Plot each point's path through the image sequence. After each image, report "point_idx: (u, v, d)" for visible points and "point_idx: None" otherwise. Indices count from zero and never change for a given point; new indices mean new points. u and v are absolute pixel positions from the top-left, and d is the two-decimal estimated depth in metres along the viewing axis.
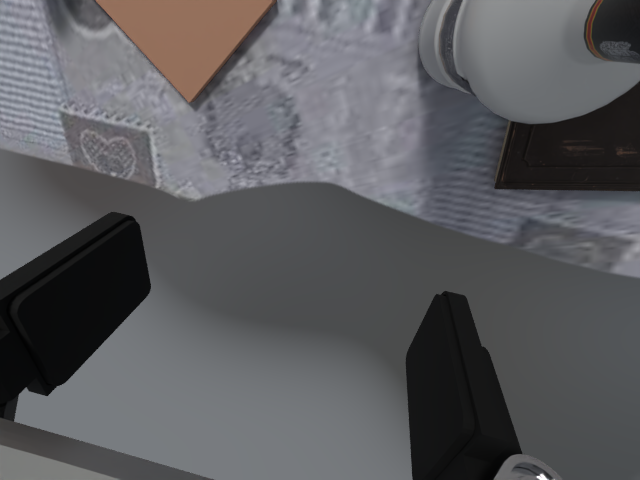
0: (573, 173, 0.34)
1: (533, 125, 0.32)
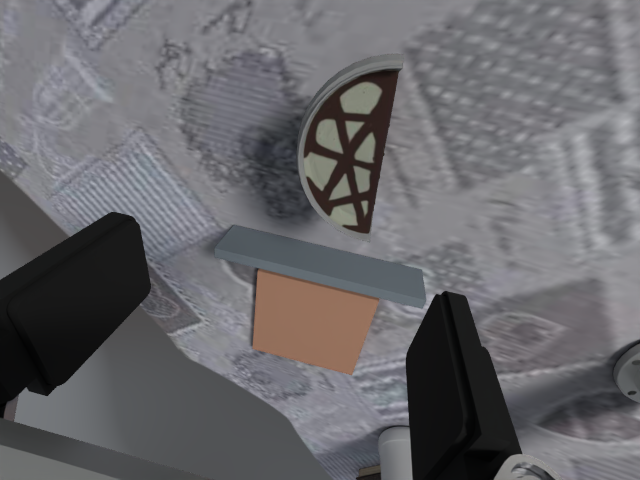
0: None
1: None
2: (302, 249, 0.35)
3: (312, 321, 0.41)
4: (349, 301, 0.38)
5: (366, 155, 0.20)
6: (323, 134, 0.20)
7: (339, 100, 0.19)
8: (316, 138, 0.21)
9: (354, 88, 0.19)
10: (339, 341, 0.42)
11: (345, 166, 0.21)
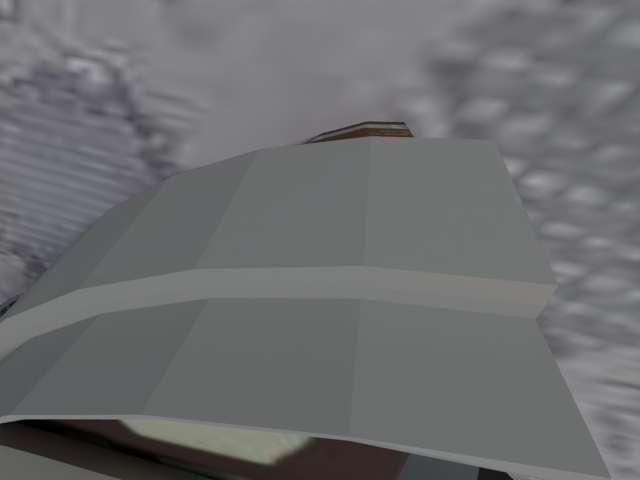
0: None
1: None
2: None
3: None
4: None
5: None
6: None
7: None
8: None
9: None
10: None
11: None
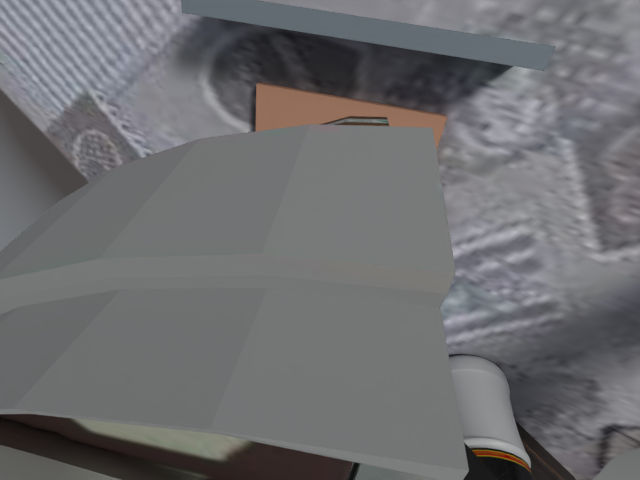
0: None
1: None
2: None
3: None
4: (400, 125, 0.25)
5: None
6: None
7: None
8: None
9: None
10: None
11: None
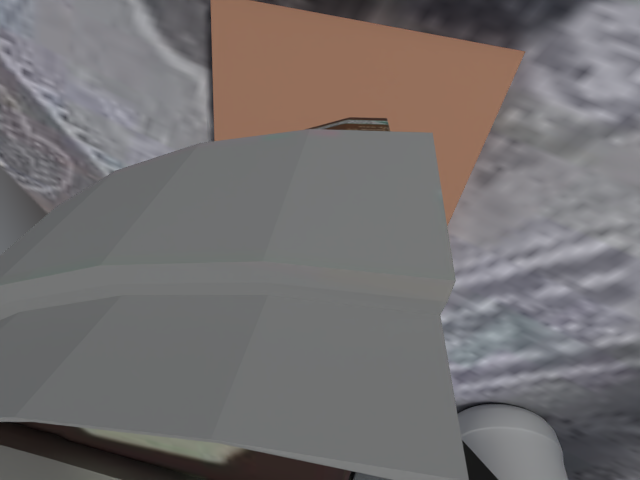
0: None
1: None
2: None
3: None
4: (443, 67, 0.15)
5: None
6: None
7: None
8: None
9: None
10: None
11: None
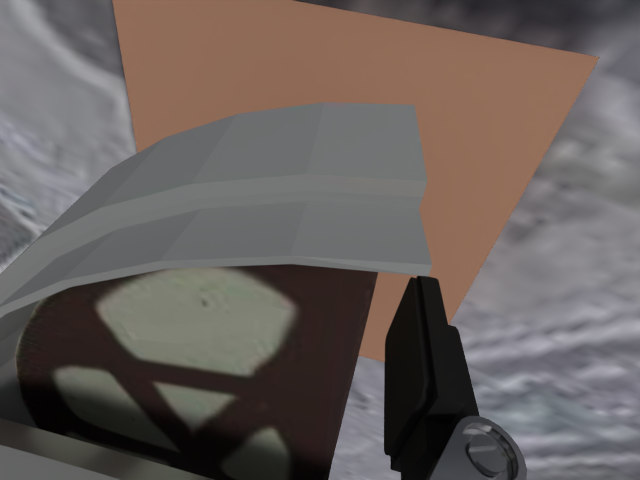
0: None
1: None
2: None
3: None
4: (466, 81, 0.10)
5: None
6: (89, 402, 0.05)
7: (99, 318, 0.04)
8: (69, 407, 0.05)
9: (150, 283, 0.03)
10: None
11: None
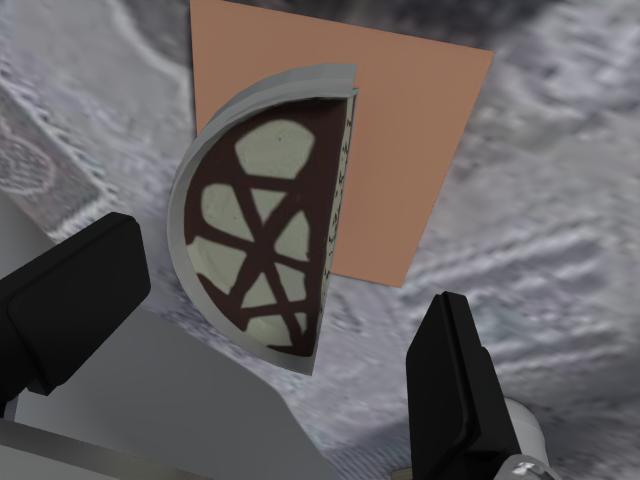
0: None
1: None
2: None
3: None
4: (418, 67, 0.16)
5: (295, 249, 0.11)
6: (214, 209, 0.11)
7: (234, 152, 0.10)
8: (203, 215, 0.11)
9: (260, 131, 0.09)
10: (382, 202, 0.20)
11: (261, 262, 0.12)
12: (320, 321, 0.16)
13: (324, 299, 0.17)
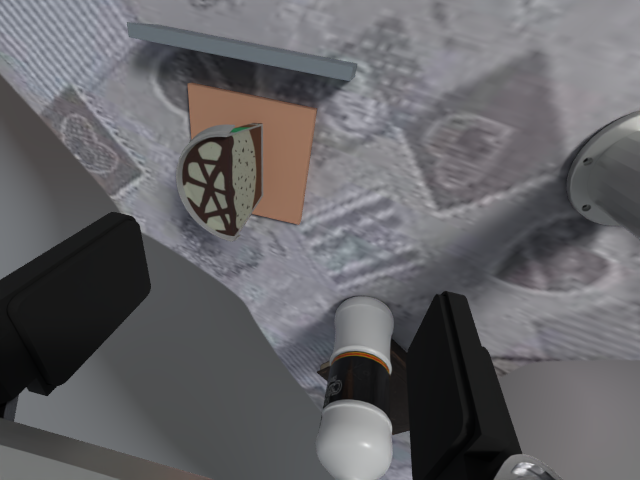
0: None
1: None
2: (228, 39, 0.32)
3: None
4: (286, 115, 0.36)
5: (220, 185, 0.31)
6: (192, 171, 0.31)
7: (198, 151, 0.30)
8: (189, 173, 0.32)
9: (205, 145, 0.30)
10: (281, 177, 0.40)
11: (210, 191, 0.32)
12: (242, 226, 0.36)
13: (246, 218, 0.37)
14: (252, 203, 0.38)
